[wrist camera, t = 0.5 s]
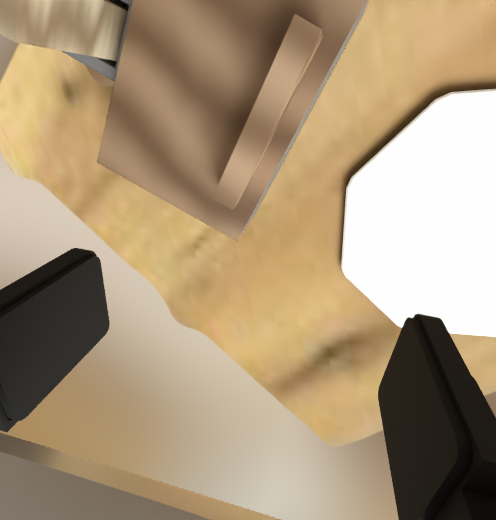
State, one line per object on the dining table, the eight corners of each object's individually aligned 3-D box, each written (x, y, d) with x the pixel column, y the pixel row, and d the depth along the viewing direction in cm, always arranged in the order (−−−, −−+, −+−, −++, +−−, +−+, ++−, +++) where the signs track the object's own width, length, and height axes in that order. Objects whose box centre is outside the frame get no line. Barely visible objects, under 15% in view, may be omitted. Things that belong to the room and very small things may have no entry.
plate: (697, 229, 31) (713, 235, 30) (438, 359, 44) (441, 367, 43) (524, 12, 27) (534, 7, 26) (296, 225, 40) (294, 229, 39)
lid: (171, -132, 22) (141, -177, 18) (373, -13, 22) (381, -34, 19) (103, 160, 32) (75, 167, 29) (239, 237, 33) (228, 253, 29)
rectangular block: (109, -2, 30) (-45, -74, 17) (146, 19, 30) (20, -37, 18) (100, 44, 32) (-43, 9, 19) (135, 64, 32) (14, 41, 20)
